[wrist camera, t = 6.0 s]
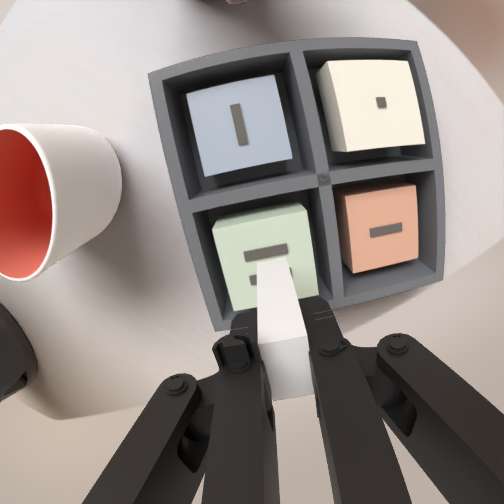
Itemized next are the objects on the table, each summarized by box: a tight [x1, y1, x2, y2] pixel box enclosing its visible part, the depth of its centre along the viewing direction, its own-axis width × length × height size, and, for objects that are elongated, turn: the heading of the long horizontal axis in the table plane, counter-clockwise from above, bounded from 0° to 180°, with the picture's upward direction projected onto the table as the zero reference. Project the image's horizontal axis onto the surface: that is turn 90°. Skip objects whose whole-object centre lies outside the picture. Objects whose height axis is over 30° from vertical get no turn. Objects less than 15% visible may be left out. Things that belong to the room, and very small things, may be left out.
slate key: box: [186, 75, 293, 177], centre depth 18 cm, size 6×6×4 cm
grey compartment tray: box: [148, 37, 445, 332], centre depth 19 cm, size 18×18×5 cm
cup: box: [0, 124, 122, 282], centre depth 17 cm, size 10×10×10 cm
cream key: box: [315, 60, 425, 152], centre depth 16 cm, size 6×6×4 cm
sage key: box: [212, 201, 319, 311], centre depth 19 cm, size 6×6×4 cm
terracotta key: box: [332, 180, 418, 273], centre depth 20 cm, size 6×6×4 cm
